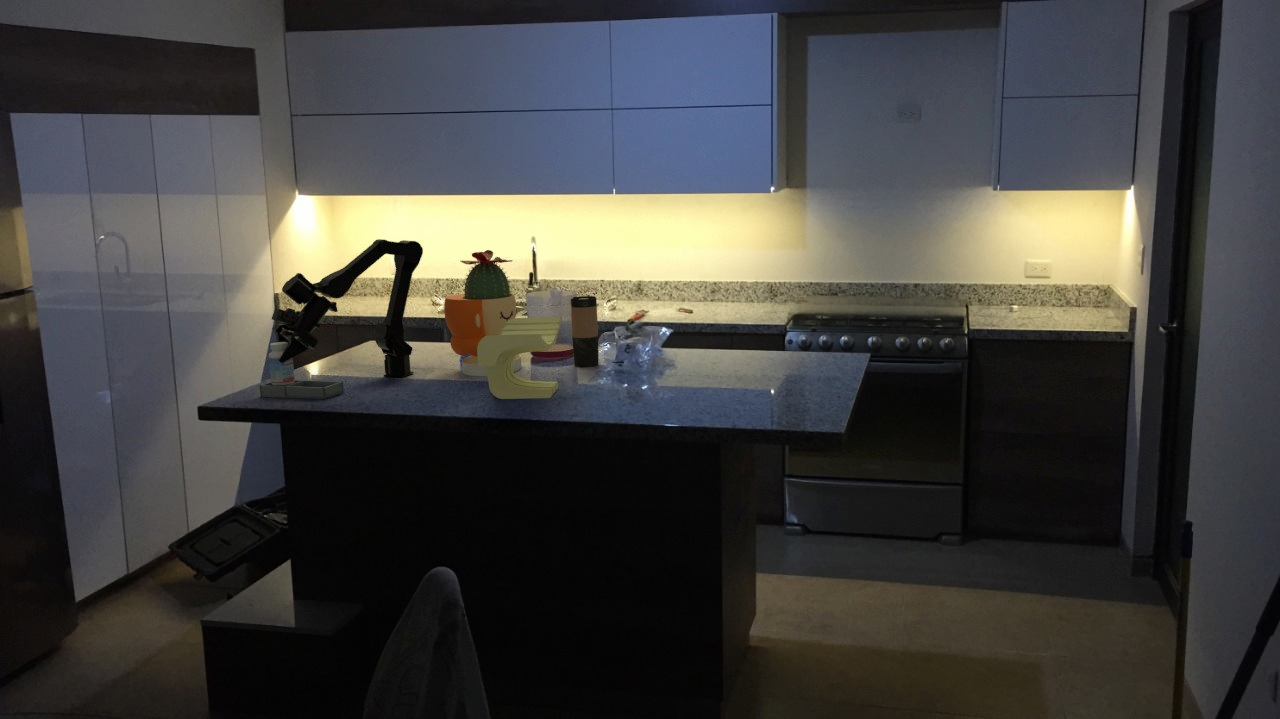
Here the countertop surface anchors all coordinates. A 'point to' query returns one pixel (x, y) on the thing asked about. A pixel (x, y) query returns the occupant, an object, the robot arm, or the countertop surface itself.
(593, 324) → the travel mug
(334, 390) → the tray
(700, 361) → the countertop surface
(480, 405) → the countertop surface
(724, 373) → the countertop surface
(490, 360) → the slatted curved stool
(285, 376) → the pill bottle
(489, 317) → the potted cactus
